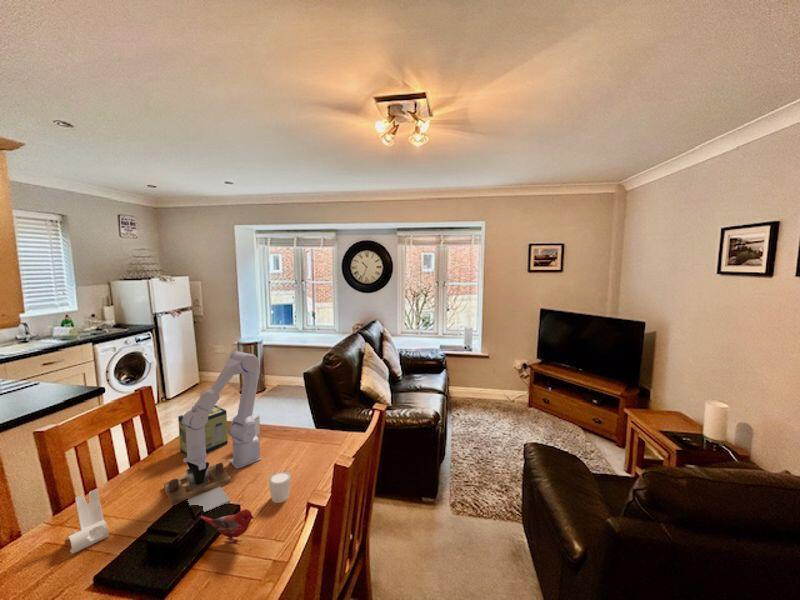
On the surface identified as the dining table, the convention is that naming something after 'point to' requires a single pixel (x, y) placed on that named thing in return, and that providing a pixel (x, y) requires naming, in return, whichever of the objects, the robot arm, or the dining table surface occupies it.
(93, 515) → the plastic part
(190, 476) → the lever cap
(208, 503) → the grey square tile
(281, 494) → the white cylinder
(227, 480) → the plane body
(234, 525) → the decorative bird figurine
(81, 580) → the dining table surface
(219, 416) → the protein box
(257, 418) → the skincare box
